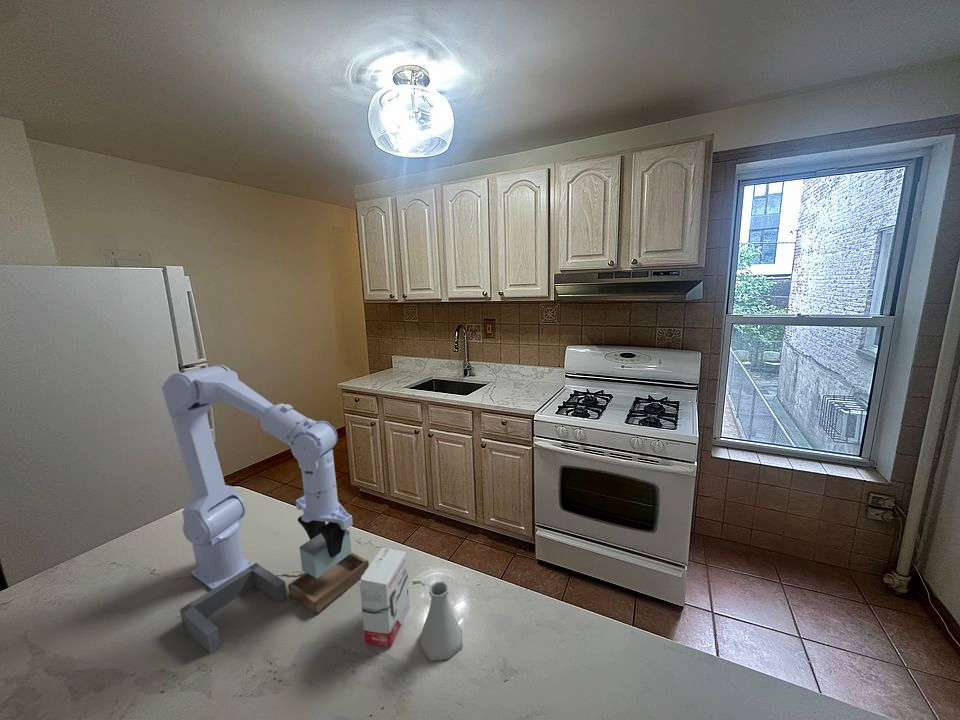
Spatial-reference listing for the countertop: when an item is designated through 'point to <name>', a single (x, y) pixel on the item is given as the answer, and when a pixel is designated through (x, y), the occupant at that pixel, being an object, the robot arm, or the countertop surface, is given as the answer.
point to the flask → (440, 626)
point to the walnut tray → (328, 583)
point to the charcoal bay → (221, 596)
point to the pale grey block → (321, 555)
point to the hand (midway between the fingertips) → (327, 550)
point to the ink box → (384, 596)
